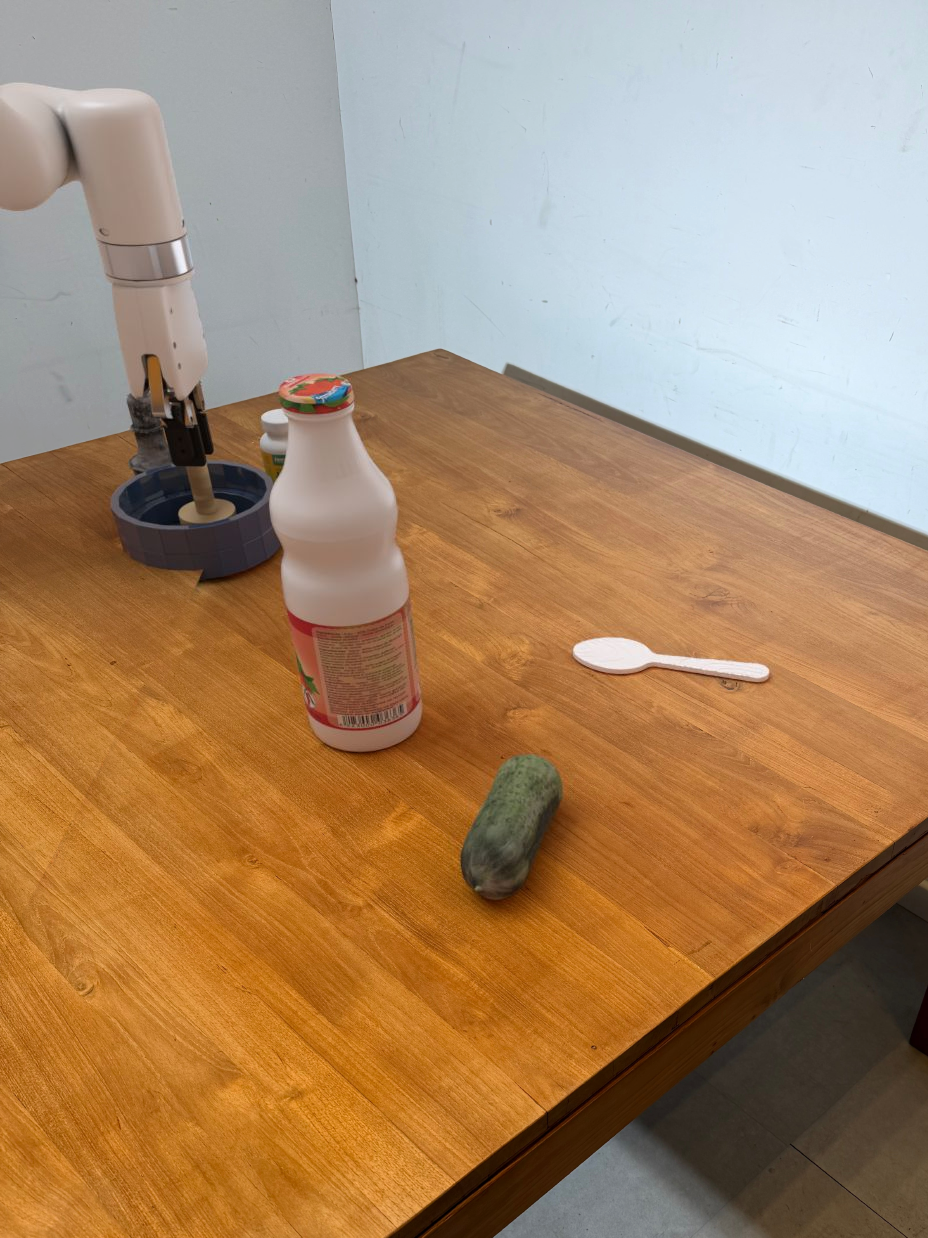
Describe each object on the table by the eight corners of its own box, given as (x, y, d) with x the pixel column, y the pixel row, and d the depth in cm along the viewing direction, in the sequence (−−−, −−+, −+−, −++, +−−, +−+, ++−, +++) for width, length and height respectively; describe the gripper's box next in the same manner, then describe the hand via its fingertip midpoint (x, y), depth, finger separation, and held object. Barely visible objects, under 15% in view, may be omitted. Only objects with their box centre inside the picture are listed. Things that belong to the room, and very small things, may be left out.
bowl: (106, 584, 110) (88, 527, 106) (152, 512, 122) (138, 458, 118) (266, 586, 111) (254, 530, 107) (297, 514, 122) (288, 461, 118)
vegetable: (506, 787, 89) (503, 736, 85) (569, 797, 88) (569, 746, 85) (446, 909, 78) (440, 857, 75) (517, 922, 78) (515, 870, 74)
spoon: (766, 692, 99) (766, 687, 99) (566, 667, 101) (566, 662, 101) (771, 660, 103) (772, 655, 103) (579, 636, 105) (579, 631, 105)
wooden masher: (174, 536, 114) (143, 413, 105) (190, 511, 118) (160, 391, 110) (230, 537, 114) (203, 414, 106) (243, 512, 118) (218, 392, 110)
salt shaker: (126, 499, 124) (94, 389, 116) (154, 477, 128) (126, 369, 120) (174, 505, 123) (146, 395, 115) (201, 483, 127) (176, 376, 119)
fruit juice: (384, 767, 90) (332, 422, 71) (286, 736, 93) (212, 396, 74) (444, 706, 97) (412, 374, 78) (352, 678, 99) (299, 352, 81)
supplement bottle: (314, 487, 127) (300, 402, 121) (326, 507, 124) (312, 421, 117) (266, 495, 126) (249, 410, 119) (277, 515, 122) (260, 428, 116)
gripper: (131, 232, 105) (178, 426, 117) (72, 283, 93) (130, 494, 105) (213, 234, 105) (251, 428, 117) (163, 285, 93) (211, 495, 106)
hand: (193, 457), depth 111 cm, fingers closed on wooden masher
